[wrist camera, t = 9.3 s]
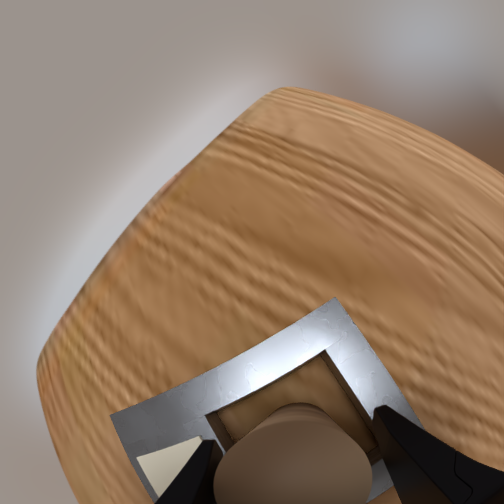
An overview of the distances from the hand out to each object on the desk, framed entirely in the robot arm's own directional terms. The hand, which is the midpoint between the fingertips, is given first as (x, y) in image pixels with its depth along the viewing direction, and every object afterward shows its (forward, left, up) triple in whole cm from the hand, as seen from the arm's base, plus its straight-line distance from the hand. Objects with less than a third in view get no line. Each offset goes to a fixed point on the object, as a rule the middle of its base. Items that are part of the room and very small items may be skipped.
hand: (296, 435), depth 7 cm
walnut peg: (-1, +1, -8) cm, 8 cm away
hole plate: (-1, +2, -8) cm, 8 cm away
